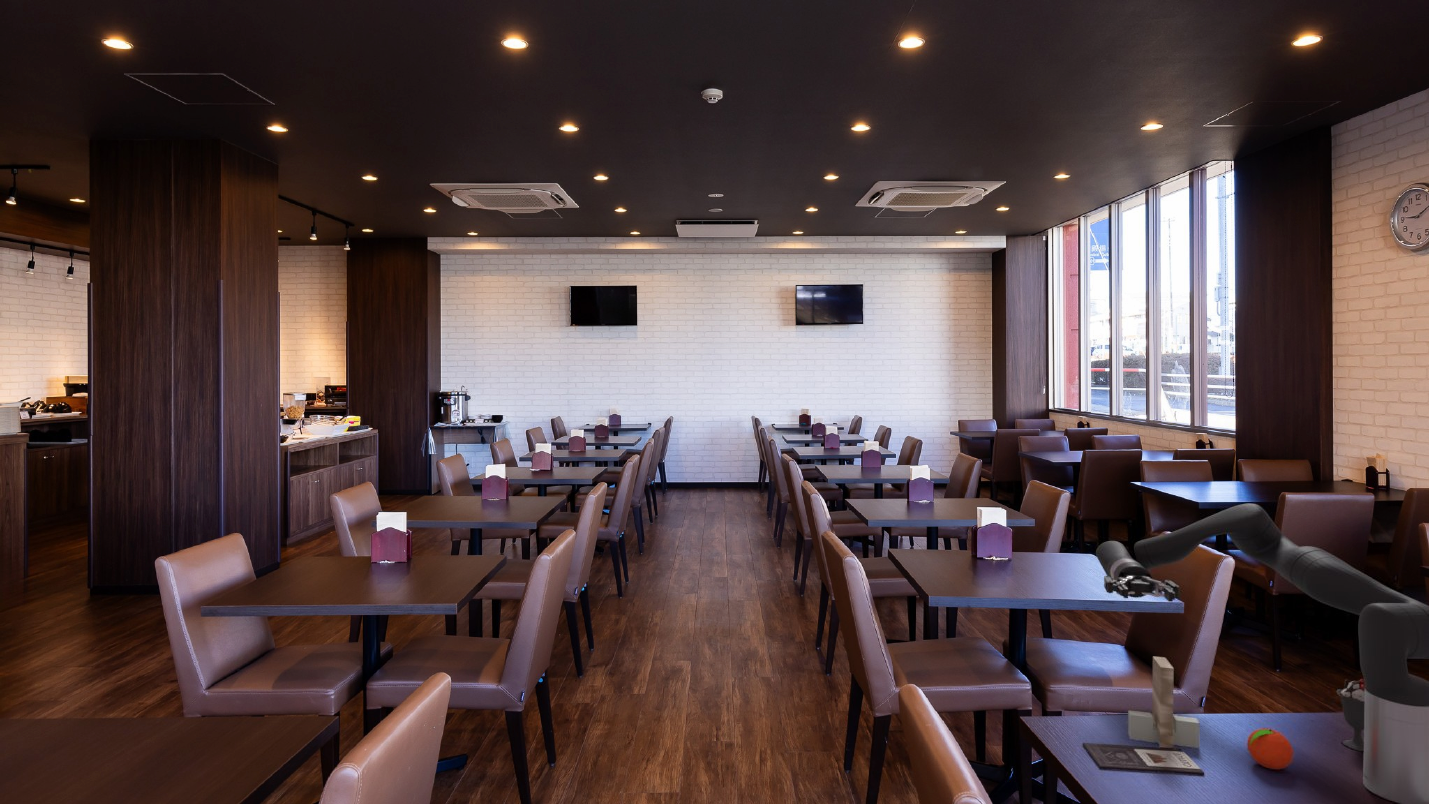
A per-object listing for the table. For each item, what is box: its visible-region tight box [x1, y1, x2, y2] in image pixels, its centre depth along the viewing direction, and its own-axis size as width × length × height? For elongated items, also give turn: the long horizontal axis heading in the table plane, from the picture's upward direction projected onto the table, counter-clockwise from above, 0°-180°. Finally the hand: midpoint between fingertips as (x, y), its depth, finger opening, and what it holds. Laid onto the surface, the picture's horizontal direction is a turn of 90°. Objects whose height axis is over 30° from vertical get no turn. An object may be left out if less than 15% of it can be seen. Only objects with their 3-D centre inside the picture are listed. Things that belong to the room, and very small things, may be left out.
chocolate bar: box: [1082, 742, 1205, 776], centre depth 140 cm, size 9×1×18 cm
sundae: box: [1336, 677, 1365, 752], centre depth 145 cm, size 7×7×15 cm
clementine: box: [1246, 727, 1294, 770], centre depth 137 cm, size 8×7×7 cm
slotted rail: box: [1127, 710, 1200, 749], centre depth 147 cm, size 12×2×5 cm, turn 72°
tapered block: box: [1151, 656, 1175, 748], centre depth 147 cm, size 2×7×16 cm, turn 162°
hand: (1148, 595), depth 159 cm, fingers open, 8 cm apart
